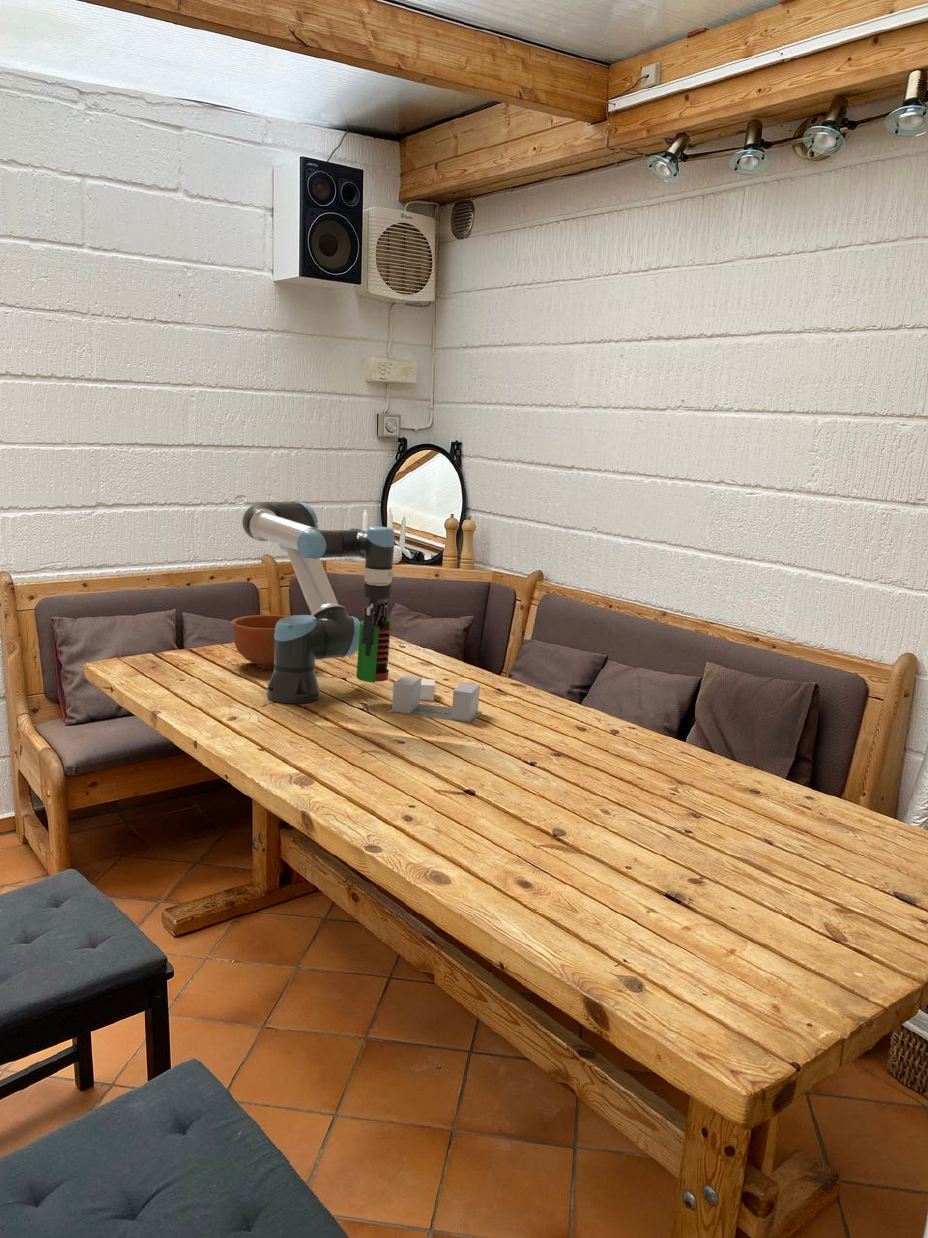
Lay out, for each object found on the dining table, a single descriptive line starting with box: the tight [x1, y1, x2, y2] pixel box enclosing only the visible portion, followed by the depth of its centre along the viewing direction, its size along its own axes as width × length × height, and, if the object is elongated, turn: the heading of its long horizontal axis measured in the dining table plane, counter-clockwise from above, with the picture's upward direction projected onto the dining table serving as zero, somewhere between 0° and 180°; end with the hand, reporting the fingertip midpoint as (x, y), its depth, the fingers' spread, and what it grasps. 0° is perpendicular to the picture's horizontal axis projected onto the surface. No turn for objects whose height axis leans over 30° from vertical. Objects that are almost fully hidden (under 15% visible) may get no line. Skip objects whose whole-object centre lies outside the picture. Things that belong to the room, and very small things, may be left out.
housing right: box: [451, 681, 481, 721], centre depth 262 cm, size 5×10×8 cm, turn 166°
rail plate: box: [387, 703, 483, 724], centre depth 265 cm, size 24×12×2 cm, turn 76°
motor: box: [356, 609, 392, 684], centre depth 266 cm, size 10×9×20 cm
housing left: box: [391, 675, 423, 714], centre depth 266 cm, size 5×10×8 cm, turn 166°
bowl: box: [230, 614, 289, 670], centre depth 309 cm, size 25×25×15 cm
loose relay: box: [420, 678, 436, 701], centre depth 280 cm, size 5×7×6 cm
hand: (373, 663), depth 268 cm, fingers closed on motor, 7 cm apart
